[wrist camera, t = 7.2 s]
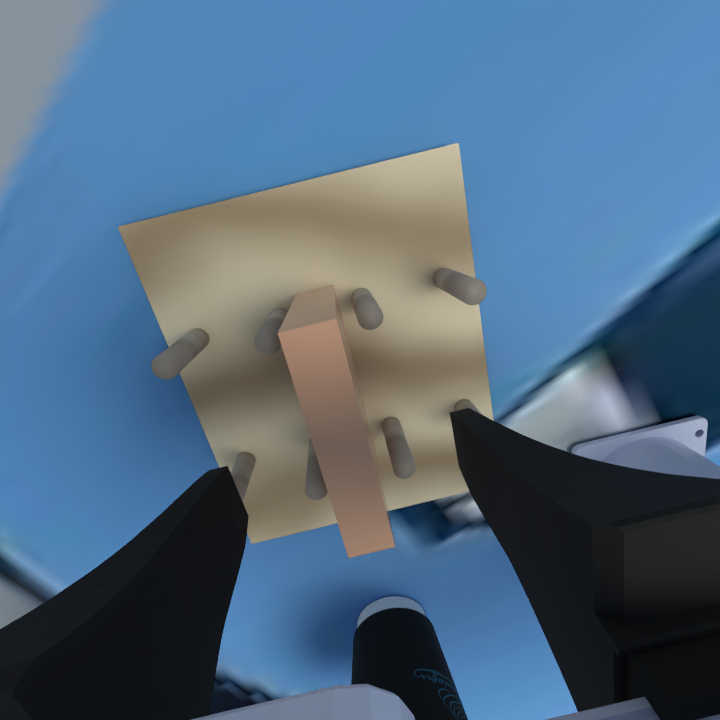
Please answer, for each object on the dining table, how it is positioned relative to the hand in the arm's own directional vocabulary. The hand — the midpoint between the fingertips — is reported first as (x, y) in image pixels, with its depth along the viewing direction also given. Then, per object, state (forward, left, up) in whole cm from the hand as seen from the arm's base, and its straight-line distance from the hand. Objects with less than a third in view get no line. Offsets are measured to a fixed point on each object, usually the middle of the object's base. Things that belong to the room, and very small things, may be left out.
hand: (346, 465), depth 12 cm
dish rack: (0, 0, -9) cm, 9 cm away
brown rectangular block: (0, 0, -8) cm, 8 cm away
